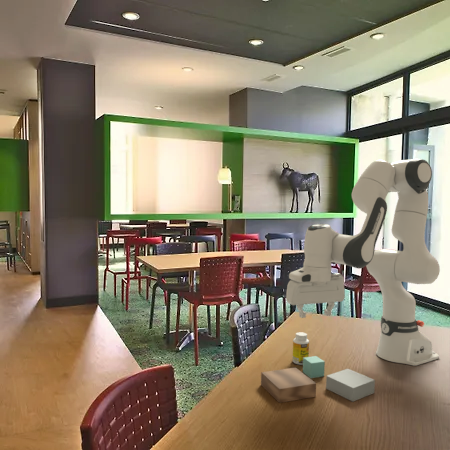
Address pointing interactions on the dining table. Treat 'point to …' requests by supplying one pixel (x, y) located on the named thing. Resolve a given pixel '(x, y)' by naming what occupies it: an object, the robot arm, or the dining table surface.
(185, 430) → the dining table surface
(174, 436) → the dining table surface
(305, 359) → the teal cube
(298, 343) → the supplement bottle
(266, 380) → the walnut block
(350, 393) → the slate block
